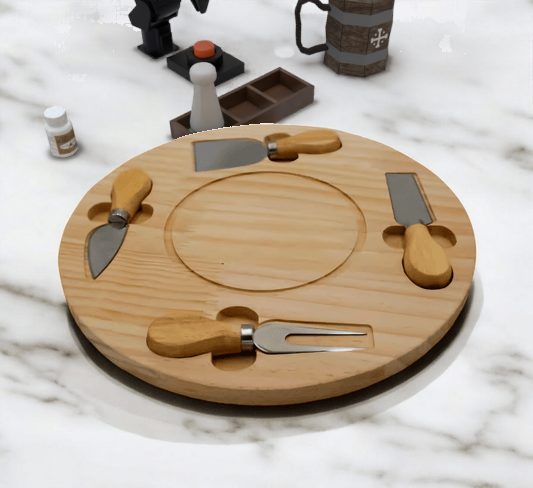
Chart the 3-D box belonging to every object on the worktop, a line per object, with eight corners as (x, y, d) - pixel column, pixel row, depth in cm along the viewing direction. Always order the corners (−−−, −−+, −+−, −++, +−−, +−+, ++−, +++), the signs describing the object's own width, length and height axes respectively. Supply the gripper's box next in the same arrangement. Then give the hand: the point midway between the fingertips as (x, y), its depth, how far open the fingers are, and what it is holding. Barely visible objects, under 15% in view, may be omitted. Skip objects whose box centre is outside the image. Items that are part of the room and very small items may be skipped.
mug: (379, 41, 137) (388, -31, 126) (397, 75, 127) (409, 0, 117) (287, 48, 135) (288, -24, 124) (298, 82, 125) (301, 8, 115)
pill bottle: (65, 161, 108) (54, 122, 103) (46, 152, 110) (34, 114, 105) (83, 147, 111) (74, 109, 106) (64, 139, 113) (54, 101, 107)
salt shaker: (226, 142, 111) (222, 74, 102) (193, 146, 110) (186, 78, 101) (222, 122, 115) (218, 55, 106) (189, 126, 114) (182, 59, 105)
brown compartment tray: (171, 137, 113) (169, 120, 111) (279, 82, 126) (279, 66, 123) (204, 161, 108) (203, 144, 106) (313, 102, 121) (314, 85, 118)
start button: (189, 53, 126) (189, 44, 125) (205, 46, 128) (205, 38, 127) (202, 60, 124) (202, 52, 123) (219, 53, 126) (218, 45, 125)
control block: (167, 67, 130) (164, 49, 127) (206, 50, 134) (204, 32, 132) (205, 91, 123) (203, 72, 121) (244, 72, 128) (244, 54, 125)
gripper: (267, -75, 108) (267, 15, 119) (197, -102, 118) (203, -17, 129) (215, -57, 103) (221, 35, 114) (146, -87, 113) (157, 0, 124)
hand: (201, 12), depth 120 cm, fingers closed
